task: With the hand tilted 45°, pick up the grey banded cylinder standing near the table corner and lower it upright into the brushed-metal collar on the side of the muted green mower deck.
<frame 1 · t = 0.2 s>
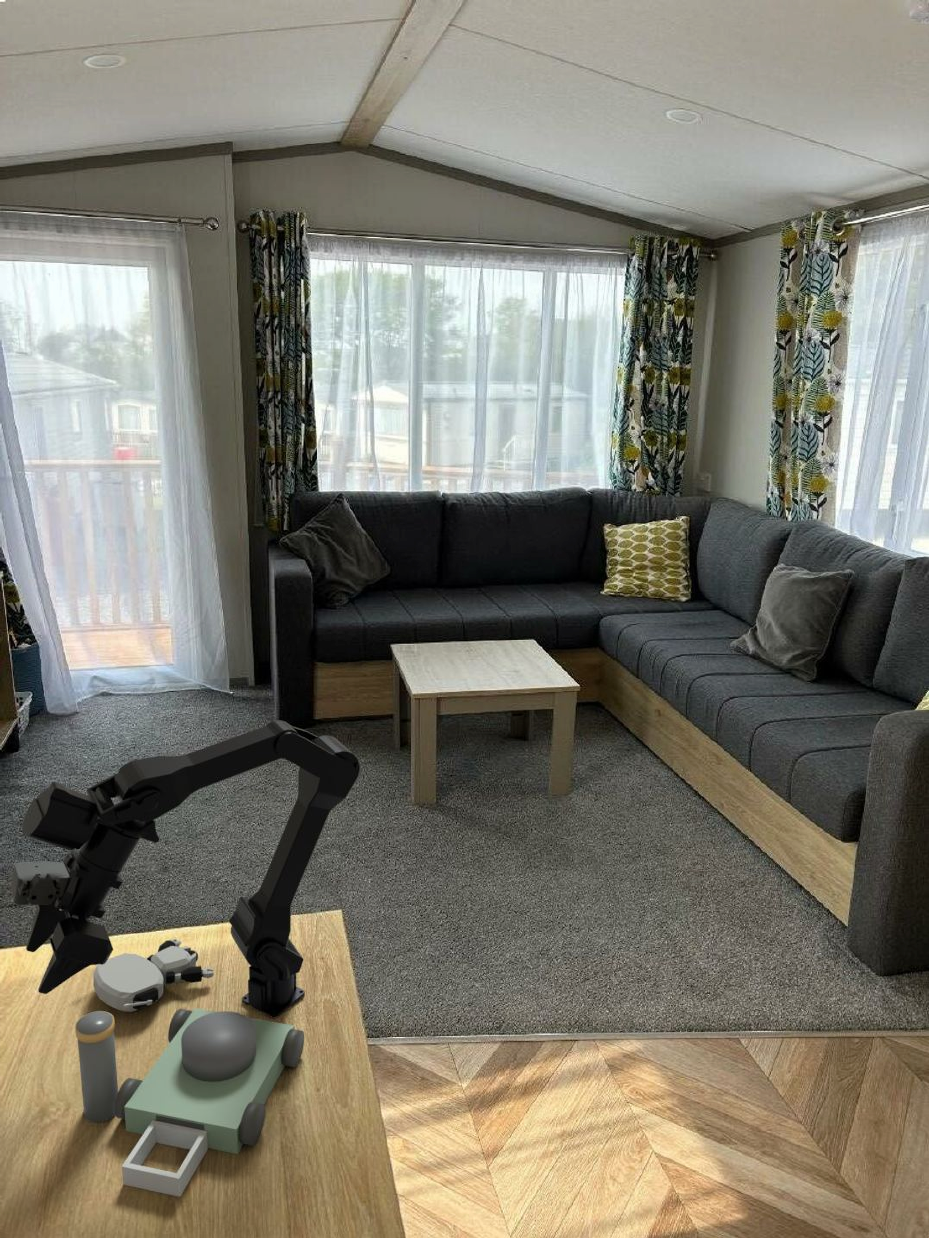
hand: (35, 971, 121), 15 cm above the table, tool tilted 35°, fingers open, 9 cm apart
mower deck: (166, 1166, 112), on the table
grey banded cylinder: (101, 1109, 119), on the table
robot toy: (150, 989, 142), on the table
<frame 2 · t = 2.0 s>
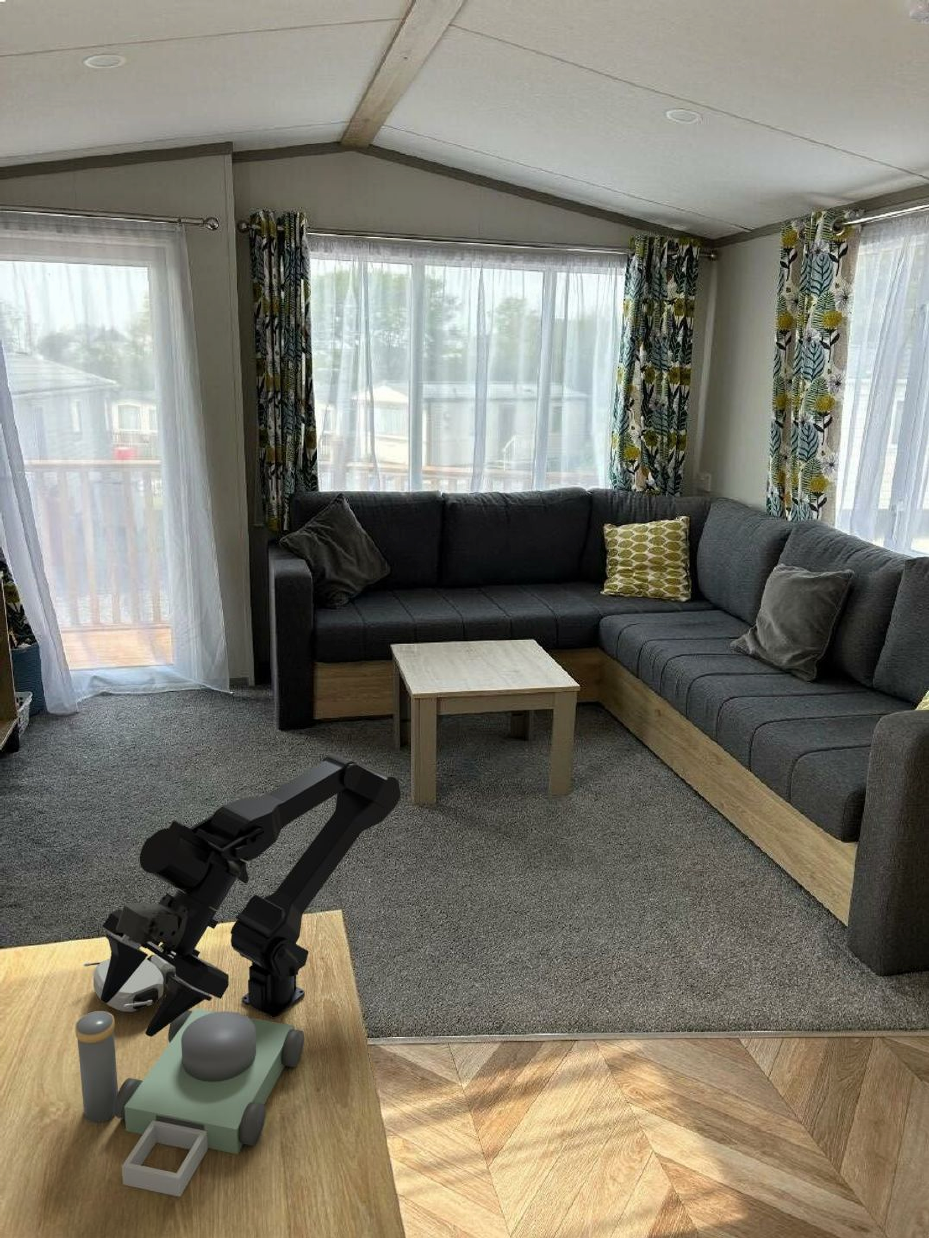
hand: (125, 1018, 119), 11 cm above the table, tool tilted 45°, fingers open, 9 cm apart
nothing on the table moved.
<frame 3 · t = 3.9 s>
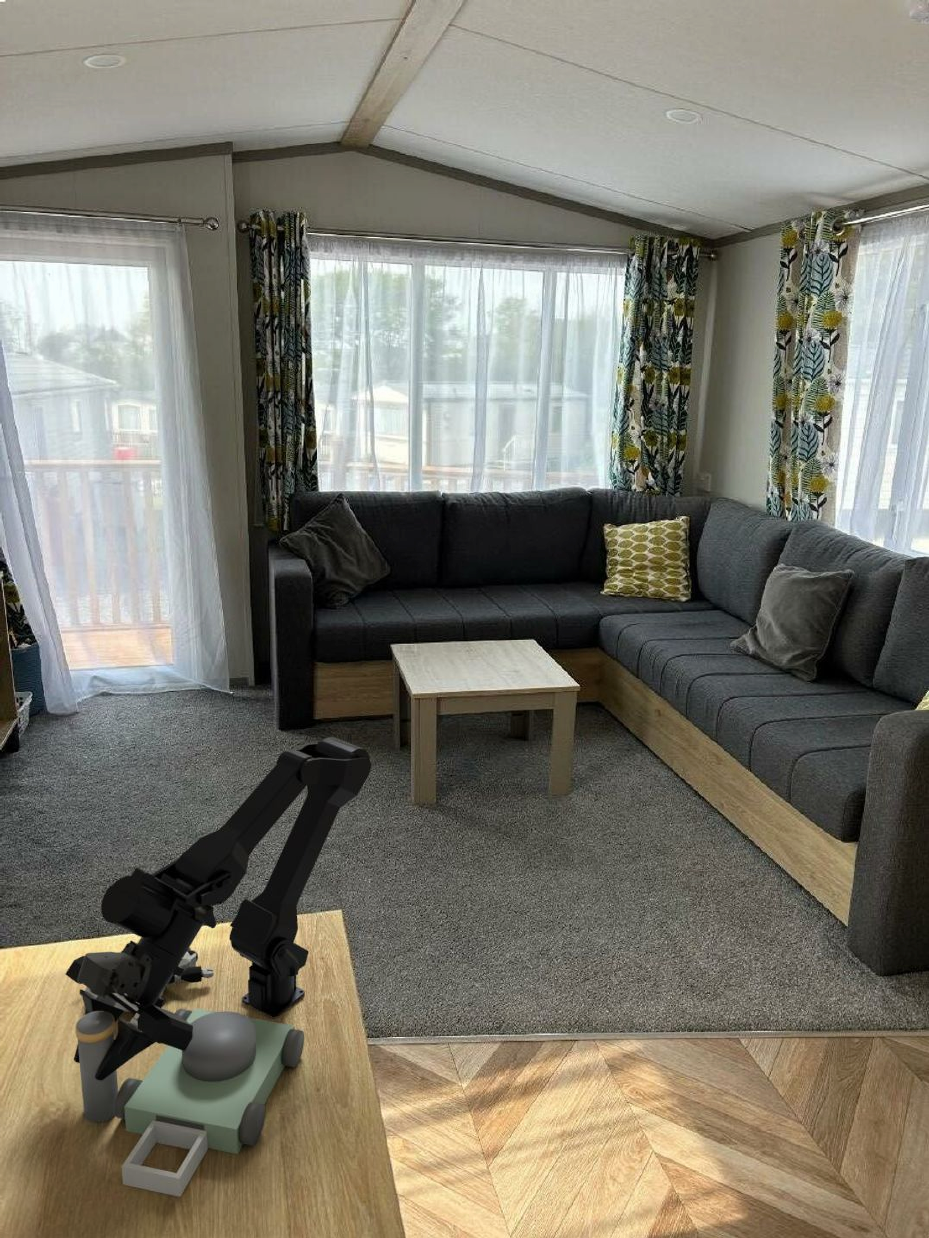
hand: (87, 1070, 116), 7 cm above the table, tool tilted 45°, fingers closed on grey banded cylinder, 4 cm apart
grey banded cylinder: (101, 1109, 119), on the table, touching gripper
everything else where it was.
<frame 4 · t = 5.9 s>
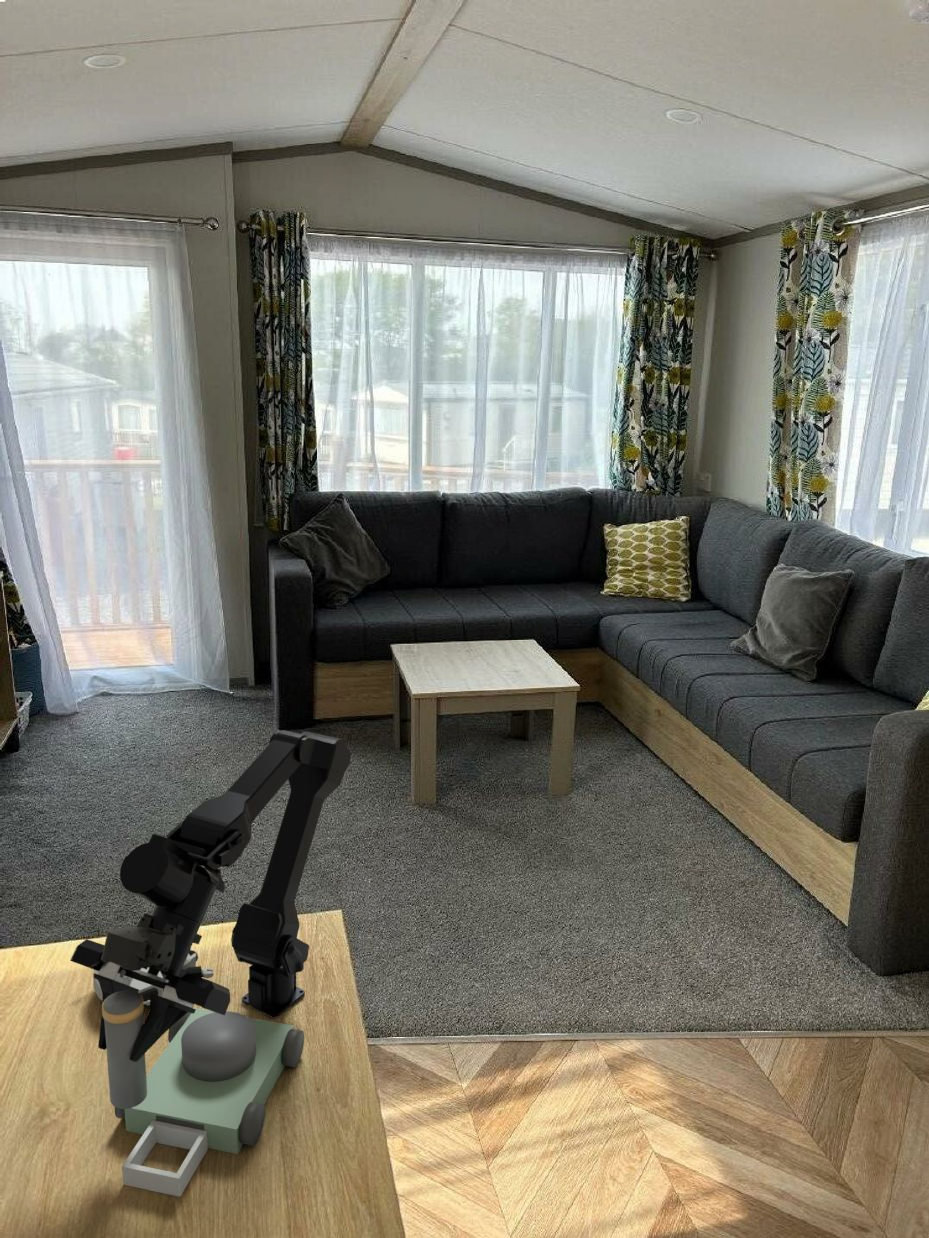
hand: (117, 1054, 109), 14 cm above the table, tool tilted 45°, fingers closed on grey banded cylinder, 4 cm apart
grey banded cylinder: (128, 1095, 112), point 7 cm above the table, touching gripper
everything else where it was.
when the fingers open (8 cm above the table, at t = 7.9 s): grey banded cylinder drops 1 cm, resting in mower deck.
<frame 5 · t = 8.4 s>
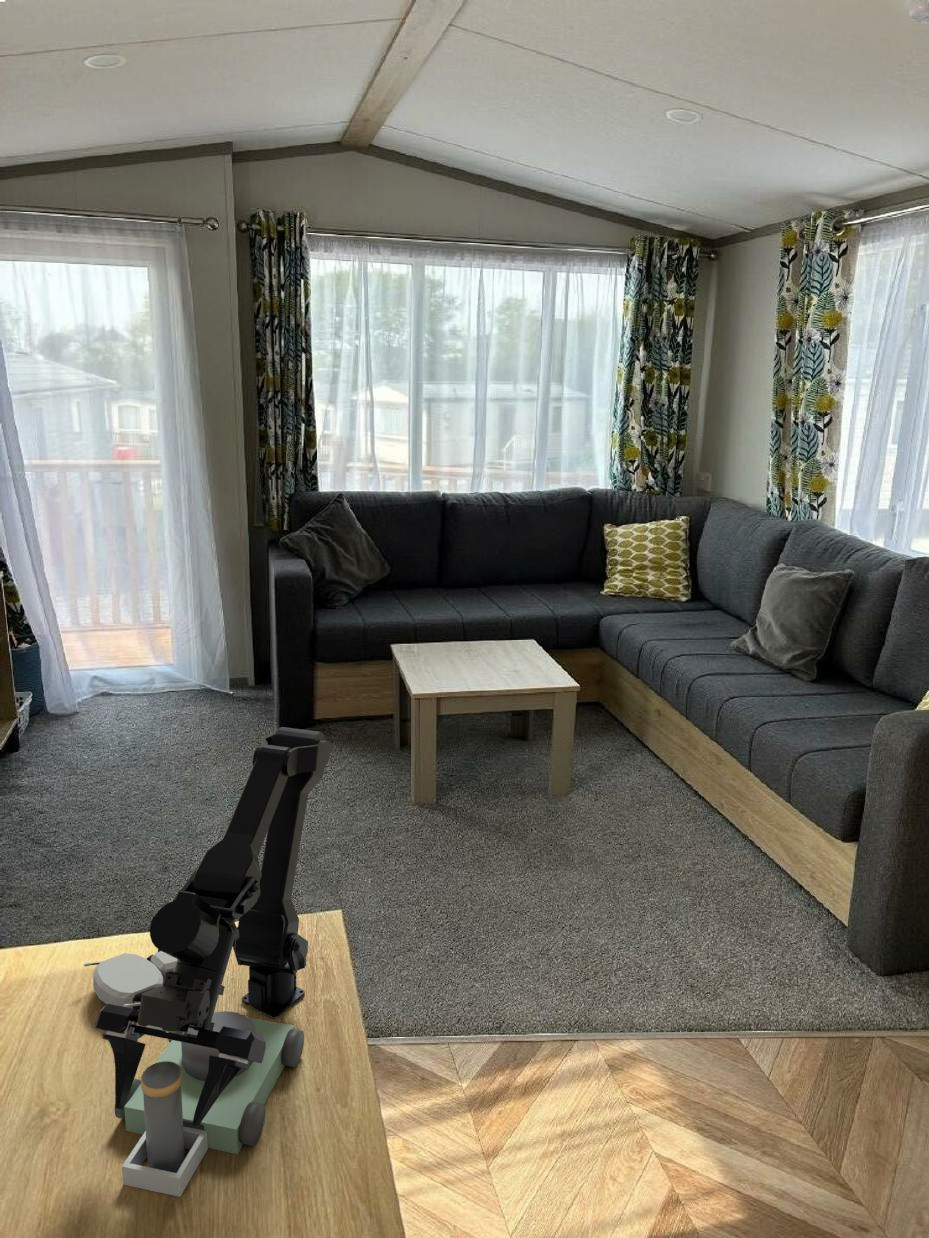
hand: (156, 1117, 108), 8 cm above the table, tool tilted 45°, fingers open, 9 cm apart
grey banded cylinder: (166, 1165, 112), resting in mower deck
everything else where it was.
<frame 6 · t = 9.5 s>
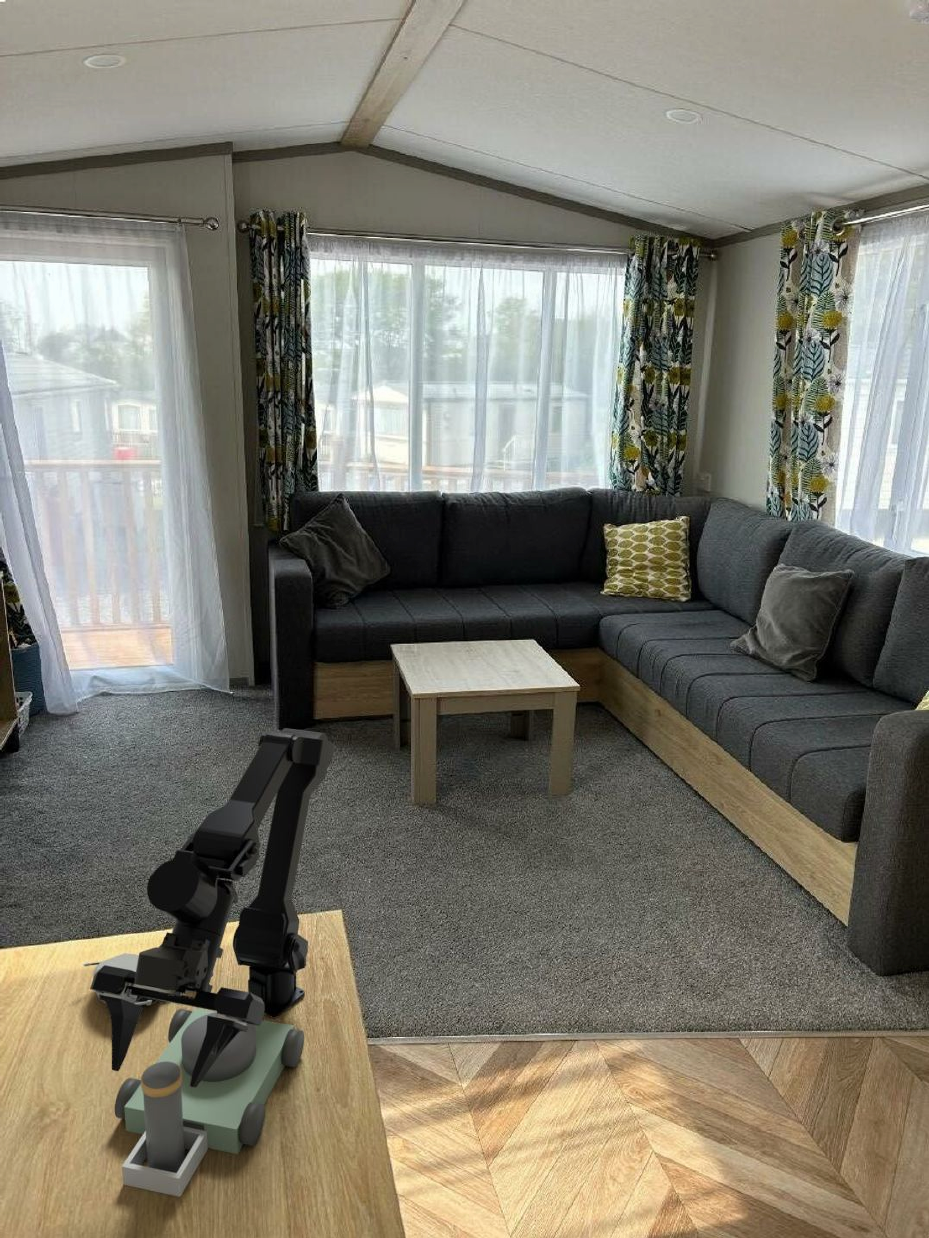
hand: (153, 1078, 107), 13 cm above the table, tool tilted 45°, fingers open, 9 cm apart
nothing on the table moved.
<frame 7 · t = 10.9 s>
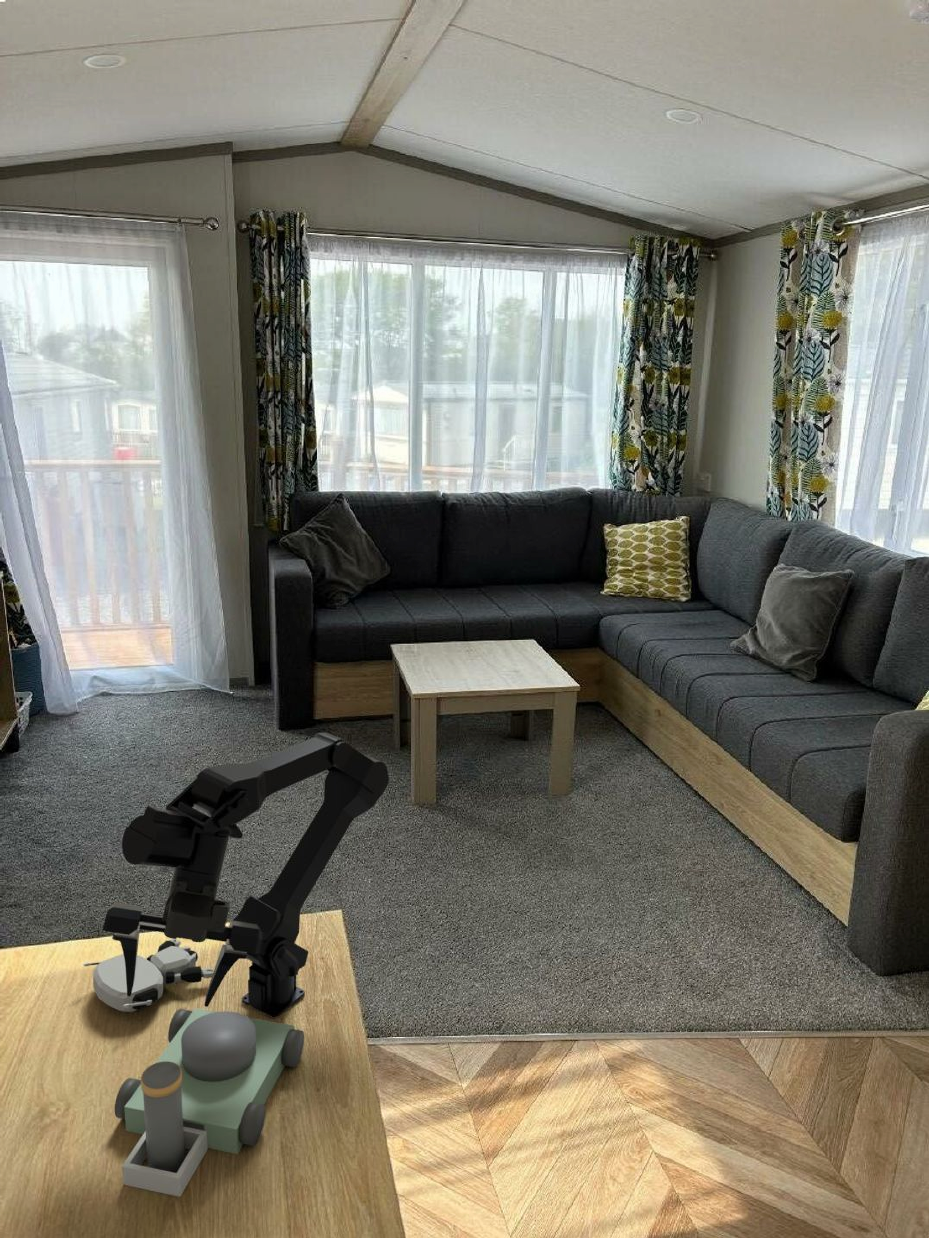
hand: (167, 1000, 120), 12 cm above the table, tool tilted 30°, fingers open, 9 cm apart
nothing on the table moved.
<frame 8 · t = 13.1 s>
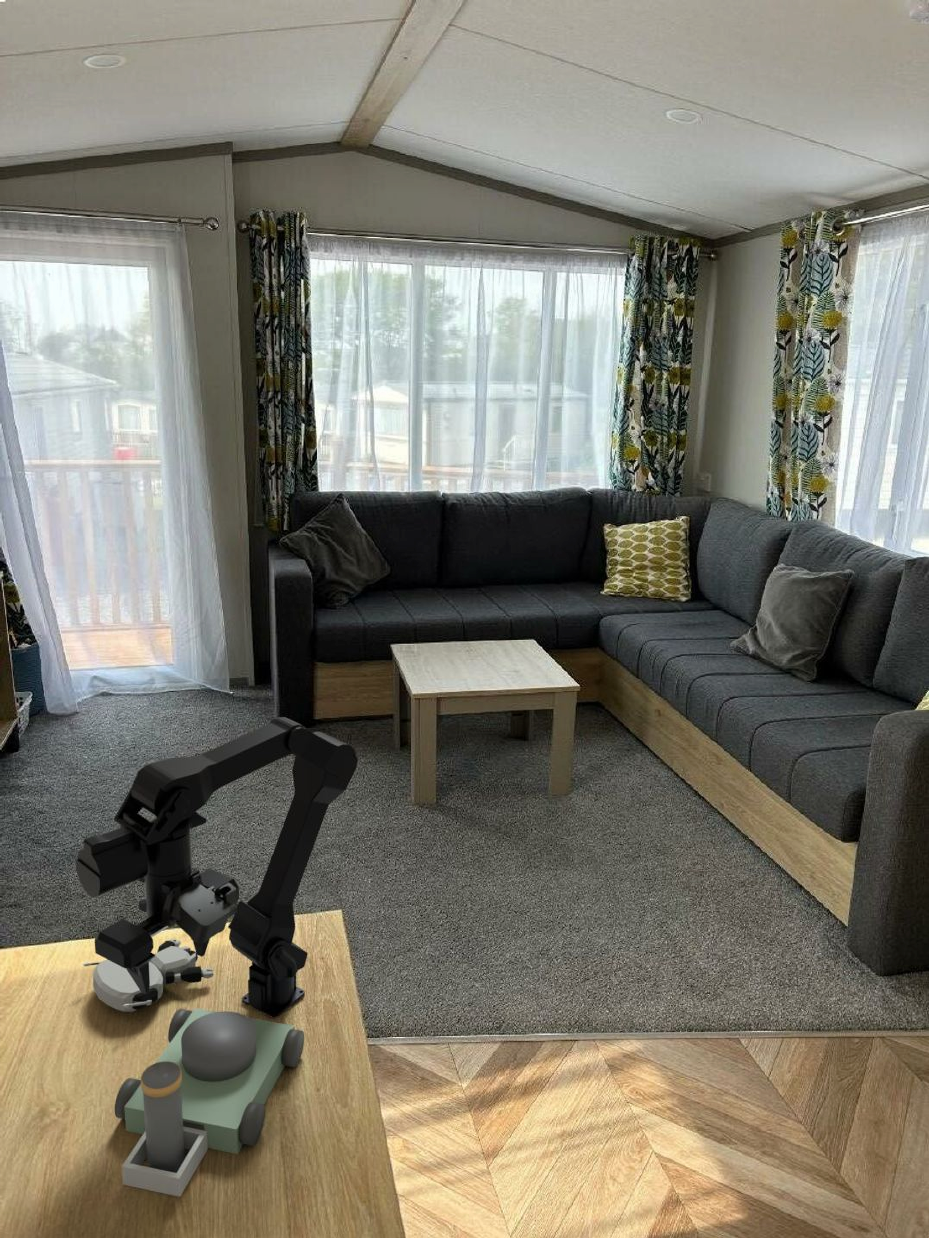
hand: (173, 973, 126), 12 cm above the table, tool pointing down, fingers open, 9 cm apart
nothing on the table moved.
at the end: grey banded cylinder 0.0 cm off-centre on the mower deck, point 0.0 cm above the mower deck's base; grey banded cylinder tilted 0°; the gripper is holding nothing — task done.
